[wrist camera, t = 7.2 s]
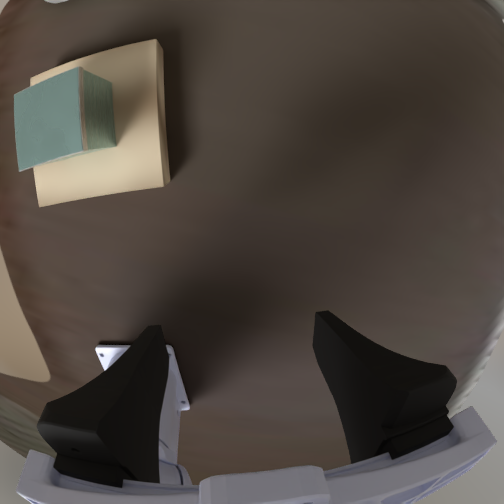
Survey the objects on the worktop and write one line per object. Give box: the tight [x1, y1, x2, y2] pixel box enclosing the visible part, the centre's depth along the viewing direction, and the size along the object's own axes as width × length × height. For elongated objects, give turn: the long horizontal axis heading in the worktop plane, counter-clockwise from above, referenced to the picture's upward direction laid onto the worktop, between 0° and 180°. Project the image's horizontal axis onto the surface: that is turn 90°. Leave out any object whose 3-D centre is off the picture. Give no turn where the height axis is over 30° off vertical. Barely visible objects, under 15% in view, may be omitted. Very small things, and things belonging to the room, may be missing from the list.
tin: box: [14, 66, 117, 172], centre depth 13 cm, size 4×4×5 cm
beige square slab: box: [30, 39, 170, 207], centre depth 16 cm, size 10×10×3 cm
